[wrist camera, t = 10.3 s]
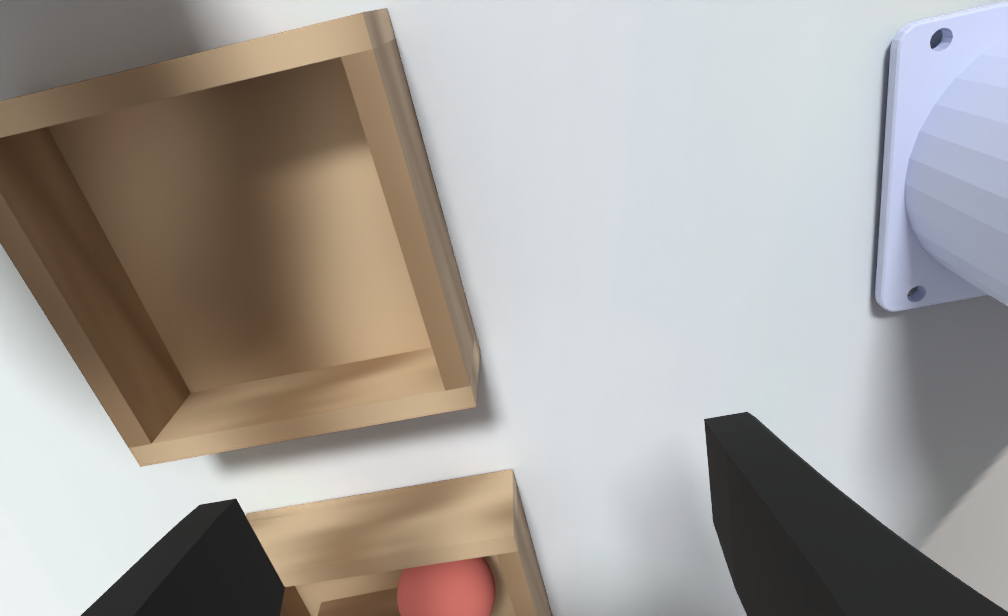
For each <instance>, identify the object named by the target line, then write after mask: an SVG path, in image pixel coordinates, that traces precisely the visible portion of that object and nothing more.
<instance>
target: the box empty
mask: <svg viewBox="0 0 1008 616" xmlns="http://www.w3.org/2000/svg"><path fill="white" fill-rule="evenodd" d="M0 243H1V244H2V246H3V248H4V249H5V251H6V252H7V254H8V256H9V257H10V259H11V260H12V262H13V264H14V265H15V267H16V268H17V270H18V272H19V273H20V275H21V276H22V278H23V280H24V281H25V283H26V284H27V286H28V288H29V289H30V291H31V292H32V294H33V296H34V297H35V299H36V300H37V302H38V304H39V305H40V307H41V308H42V310H43V312H44V313H45V315H46V316H47V318H48V320H49V321H50V323H51V324H52V326H53V328H54V329H55V331H56V332H57V334H58V336H59V337H60V339H61V340H62V342H63V344H64V345H65V347H66V348H67V350H68V352H69V353H70V355H71V356H72V358H73V360H74V361H75V363H76V364H77V366H78V368H79V369H80V371H81V372H82V374H83V376H84V377H85V379H86V380H87V382H88V384H89V385H90V387H91V388H92V390H93V392H94V393H95V395H96V396H97V398H98V400H99V401H100V403H101V404H102V406H103V408H104V409H105V411H106V412H107V414H108V416H109V417H110V419H111V420H112V422H113V424H114V425H115V427H116V428H117V430H118V432H119V433H120V435H121V436H122V438H123V440H124V441H125V443H126V444H127V446H128V448H129V449H130V451H131V452H132V454H133V456H134V457H135V459H136V460H137V462H138V464H139V465H140V467H141V466H147V465H152V464H158V463H164V462H169V461H175V460H181V459H186V458H192V457H197V456H203V455H209V454H214V453H220V452H226V451H231V450H237V449H242V448H248V447H254V446H259V445H265V444H271V443H276V442H282V441H287V440H293V439H299V438H304V437H310V436H315V435H321V434H327V433H332V432H338V431H344V430H349V429H355V428H360V427H366V426H372V425H377V424H383V423H389V422H394V421H400V420H405V419H411V418H417V417H422V416H428V415H434V414H439V413H445V412H450V411H456V410H462V409H467V408H473V407H477V391H478V375H479V360H480V348H479V344H478V341H477V337H476V333H475V330H474V326H473V322H472V319H471V315H470V311H469V308H468V304H467V300H466V297H465V293H464V289H463V286H462V282H461V278H460V275H459V271H458V267H457V264H456V260H455V256H454V253H453V249H452V245H451V241H450V238H449V234H448V230H447V227H446V223H445V219H444V216H443V212H442V208H441V205H440V201H439V197H438V194H437V190H436V186H435V183H434V179H433V175H432V172H431V168H430V164H429V161H428V157H427V153H426V150H425V146H424V142H423V139H422V135H421V131H420V128H419V124H418V120H417V117H416V113H415V109H414V106H413V102H412V98H411V95H410V91H409V87H408V84H407V80H406V76H405V73H404V69H403V65H402V62H401V58H400V54H399V51H398V47H397V43H396V40H395V36H394V32H393V29H392V25H391V21H390V18H389V14H388V10H387V8H385V9H380V10H374V11H369V12H363V13H359V14H355V15H351V16H346V17H342V18H338V19H334V20H330V21H326V22H322V23H318V24H314V25H310V26H306V27H302V28H297V29H293V30H289V31H285V32H281V33H277V34H273V35H269V36H265V37H261V38H257V39H252V40H248V41H244V42H240V43H236V44H232V45H228V46H224V47H220V48H216V49H212V50H207V51H203V52H199V53H195V54H191V55H187V56H183V57H179V58H175V59H171V60H167V61H163V62H158V63H154V64H150V65H146V66H142V67H138V68H134V69H130V70H126V71H122V72H118V73H113V74H109V75H105V76H101V77H97V78H93V79H89V80H85V81H81V82H77V83H73V84H69V85H64V86H60V87H56V88H52V89H48V90H44V91H40V92H36V93H32V94H28V95H24V96H19V97H15V98H11V99H7V100H3V101H0Z"/></svg>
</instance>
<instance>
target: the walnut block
mask: <svg viewBox="0 0 1008 616" xmlns="http://www.w3.org/2000/svg"><path fill="white" fill-rule="evenodd" d="M397 588H398V587H397ZM397 588H392V589H386V590H381V591H376V592H371V593H366V594H361V595H356V596H351V597H346V598H341V599H336V600H331V601H326V602H321V605H320V609H319V612H318V615H317V616H401V615H400V612H399V609H398V603H397Z"/></svg>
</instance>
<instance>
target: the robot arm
mask: <svg viewBox="0 0 1008 616" xmlns="http://www.w3.org/2000/svg"><path fill="white" fill-rule="evenodd" d="M939 29H941V30H942V35H943V37H942V40H941V42H940V43H939V45H938V46H937V47H936V48H934V49H932V48H931V46H930V40H931V37H932V35H933V34H934V33H935V32H936V31H937V30H939ZM917 286H918V289H917V291H916V292H915V293H914V294H913V295H910V296H908V293H909V291H910V290H911V289H912V288H914V287H917ZM985 295H990V296H991V297H993V298H995V299H996V300H998V301H999V302H1001V303H1003V304H1004V305H1006V306H1007V307H1008V1H1003V2H999V3H994V4H990V5H985V6H981V7H976V8H972V9H968V10H963V11H959V12H954V13H950V14H945V15H941V16H936V17H932V18H927V19H923V20H918V21H914V22H911V23H909V24H906V25H904V26H903V27H902V28H901V29H900V30H899V31H898V32H897V33H896V35H895V36H894V38H893V40H892V44H891V49H890V65H889V81H888V97H887V113H886V129H885V145H884V161H883V177H882V193H881V209H880V225H879V242H878V258H877V274H876V290H875V298H876V301H877V303H878V304H879V305H880V306H881V307H883V308H884V309H885V310H888V311H890V312H897V311H903V310H908V309H914V308H919V307H925V306H930V305H936V304H941V303H947V302H952V301H958V300H963V299H969V298H974V297H980V296H985ZM704 421H705V432H706V444H707V456H708V467H709V479H710V491H711V502H712V514H713V523H714V526H715V529H716V532H717V535H718V538H719V541H720V544H721V547H722V550H723V553H724V557H725V560H726V563H727V565H728V568H729V571H730V574H731V577H732V580H733V583H734V586H735V589H736V591H737V594H738V596H739V598H740V600H741V603H742V605H743V607H744V609H745V612H746V614H747V616H1008V612H1007V611H1006V610H1004V609H1003V608H1001V607H999V606H998V605H996V604H995V603H993V602H992V601H990V600H989V599H987V598H986V597H984V596H983V595H981V594H979V593H978V592H977V591H975V590H974V589H973V588H971V587H970V586H968V585H967V584H965V583H964V582H962V581H961V580H959V579H958V578H957V577H955V576H954V575H952V574H951V573H949V572H948V571H946V570H945V569H943V568H942V567H941V566H939V565H938V564H937V563H935V562H934V561H933V560H931V559H930V558H928V557H927V556H925V555H924V554H923V553H921V552H920V551H919V550H917V549H916V548H914V547H913V546H912V545H910V544H909V543H907V542H906V541H905V540H903V539H902V538H901V537H899V536H898V535H897V534H895V533H894V532H893V531H891V530H890V529H889V528H887V527H886V526H885V525H883V524H882V523H881V522H880V521H878V520H877V519H876V518H875V517H873V516H872V515H871V514H869V513H868V512H867V511H866V510H864V509H863V508H862V507H861V506H859V505H858V504H857V503H855V502H854V501H853V500H852V499H850V498H849V497H848V496H847V495H845V494H844V493H843V492H842V491H840V490H839V489H838V488H837V487H835V486H834V485H833V484H832V483H830V482H829V481H828V480H827V479H826V478H824V477H823V476H822V475H821V474H820V473H818V472H817V471H816V470H815V469H814V468H813V467H811V466H810V465H809V464H808V463H807V462H805V461H804V460H803V459H802V458H801V457H800V456H798V455H797V454H796V453H795V452H794V451H793V450H792V449H790V448H789V447H788V446H787V445H786V444H785V443H784V442H782V441H781V440H780V439H779V438H778V437H777V436H776V435H775V434H773V433H772V432H771V431H770V430H769V429H768V428H767V427H766V426H765V425H763V424H762V423H761V422H760V421H759V420H758V419H757V418H756V417H754V416H753V415H751V414H750V413H748V412H744V413H738V414H732V415H726V416H720V417H714V418H708V419H704ZM284 590H285V587H284V585H283V583H282V581H281V579H280V577H279V576H278V574H277V572H276V570H275V568H274V567H273V565H272V563H271V561H270V559H269V557H268V556H267V554H266V552H265V550H264V548H263V547H262V545H261V543H260V541H259V539H258V537H257V536H256V534H255V532H254V530H253V528H252V527H251V525H250V523H249V521H248V519H247V518H246V516H245V514H244V512H243V510H242V508H241V507H240V505H239V503H238V501H237V499H231V500H226V501H220V502H214V503H208V504H202V505H199V506H198V507H197V508H195V509H194V510H193V511H192V512H191V513H190V514H188V515H187V516H186V517H185V518H184V519H183V520H181V521H180V522H179V523H178V524H177V525H176V526H175V527H174V528H173V529H171V530H170V531H169V532H168V533H167V534H166V535H165V536H164V537H163V538H162V539H161V540H160V541H159V542H157V543H156V544H155V545H154V546H153V547H152V548H151V549H150V550H149V551H148V552H147V553H146V554H145V555H144V556H143V557H142V558H141V559H140V560H139V561H137V562H136V563H135V564H134V565H133V566H132V567H131V568H130V569H129V570H128V571H127V572H126V573H125V574H124V575H123V576H122V577H121V578H120V579H119V580H118V581H117V582H115V583H114V584H113V585H112V586H111V587H110V588H109V589H108V590H107V591H106V592H105V593H104V594H103V595H102V596H101V597H100V598H99V599H98V600H97V601H96V602H94V603H93V604H92V605H91V606H90V607H89V608H88V609H87V610H86V611H85V612H84V613H83V614H82V615H81V616H280V612H281V606H282V601H283V596H284Z"/></svg>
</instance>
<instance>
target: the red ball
mask: <svg viewBox="0 0 1008 616" xmlns="http://www.w3.org/2000/svg"><path fill="white" fill-rule="evenodd" d="M494 602H495V582H494V577H493V573H492V571H491V568H490V566H489V564H488V563H487V561H486V560H485V558H484V557H478V558H471V559H465V560H458V561H452V562H446V563H439V564H433V565H426V566H420V567H413V568H407V569H403V571H402V573H401V575H400V579H399V583H398V588H397V603H398V609H399V612H400V615H401V616H490V615H491V613H492V610H493V606H494Z"/></svg>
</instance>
